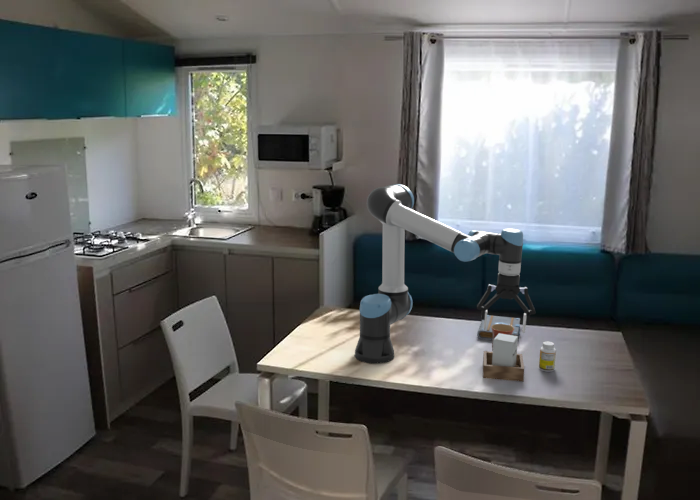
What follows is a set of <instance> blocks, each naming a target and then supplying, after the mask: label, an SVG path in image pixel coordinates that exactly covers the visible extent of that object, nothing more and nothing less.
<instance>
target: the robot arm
mask: <svg viewBox="0 0 700 500" xmlns="http://www.w3.org/2000/svg"><path fill="white" fill-rule="evenodd" d="M366 199H367V200H366V208H367V211H368V212H369V214H370V215H371V216H372V217H373V218H375V219H377V220H378V221H379V222H380V223H381V224H382V271H381V272H382V273H381V274H382V277H381V278H382V281H381V284H380V285H379V286H378V293H373V294H369V295H365V296H363V297H362V298H361V300H360V303H359V304H360V305H359V309H358V310H359V338H358V340H357V344H356V347H355V349H354V357H355V359H356V360H358V361H360V362H362V363H366V364H375V365H376V364H384V363H385V364H386V363H388V362H391V361H393V359H394V358H395V349H394V346H393V342H392V340H391V325H393V324H395V323H396V322H398V321H401V320H403V319H404V318H405V317H407V316H408V315H409V314H410V313H411V310H412V308H413V303H414V302H413V298H412V295H411V294H410V293H409V287H408V286H407V285H406V284H405V249H406V248H405V245H406V244H405V240H406V237H405V236H406V235H405V234H406V232H405V231H407V232H409V233H412V234H414V235H415V236H418V237H420V238H422V239H424V240H426V241H428V242H430V243H432V244H434V245H437V246H438V247H441V248H443V249H445V250H446V251H449V252H451V253H453V254H454V256H455V257H456V258H457V259H458V260H459V261H460V262H463V263H465V262H471V261H473V260H476V259H477V258H478V257H481V256H483V255H485V254H489V255H496V256H499V257H498V259H499V260H498V270H497V271H498V273H497V281H496V282H497V283H496V285H494V284H490V283H488V284H487V289H486V291H485V292H484V294H483V295H482V296H481V298H480V300H479V302H478V303H477V304H476V309H477V310H479V311H480V312H481V314H480V315H481V317H480V318H481V321H482V320H484V330H486V323H487V315H488V309H490V307H492V305H493V304H494V303H496V301H498V300H499V299H500V298H501V299H503V300H506V299H507V300H513V299H514V300H515V302H516V303H517V304H518V305H519V307H520V308H521V309H522V310H523V312H524V313H523V318H522V334H525V333H526V326H527V325H529V324H530V318H531V315H535V314H536V309H535V307H534V305H533V301H532V300H531V297H530V295H529V290H528V287H527V286H524V287H520V279H521V277H520V276H521V275H520V273H521V267H522V266H521V265H522V255H523V246H524V233H523V231H522V230H520V229H518V228H516V229H515V228H504V229H502V230H501V233H495V232H489V231H484V230H480V229H479V230H470V231H469V233H468V234H466V233H463V232H462V231H459V230H457V229H455V228H453V227H451V226H449V225H446V224H444V223H442V222H440V221H438V220H435V219H434V218H431V217H429V216H427V215H425V214H422V213H420V212H418V211H416V210H414V209H413V207H414V204H415V197H414V194H413V192H412V190H410V188H409V187H408V186H406V185H404V184H401V183H394V184H393V183H392V184H390V185H384V186H380V187H376V188H375V189H373V190H372V191H371V192H370V193H369V195H368V196H367V198H366ZM494 290H495V291H496V293H495V294H494V296H492V298H490V299H489V300H488V298H489V296H490V294H491V292H493V291H494ZM520 292H521V294H522V295H524V297H525V300H526V302H527V305H528V307H529V308H528V307H527V306H526V304H525V303H524V302H523V300H521V298H520V297H519V295H518V294H520ZM487 300H488V301H487ZM486 301H487V302H486ZM485 302H486V303H485Z"/></svg>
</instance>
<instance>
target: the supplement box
mask: <svg viewBox="0 0 700 500" xmlns="http://www.w3.org/2000/svg"><path fill="white" fill-rule="evenodd" d="M518 338H519V335H518V336H513V335H506V334H500V333H499V334H498V335H497V336H496V337H495V338H494V341H493V351H492V352H493V356H492V365H496V366H508V367H516V358H517V354H518V341H519V339H518Z"/></svg>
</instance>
